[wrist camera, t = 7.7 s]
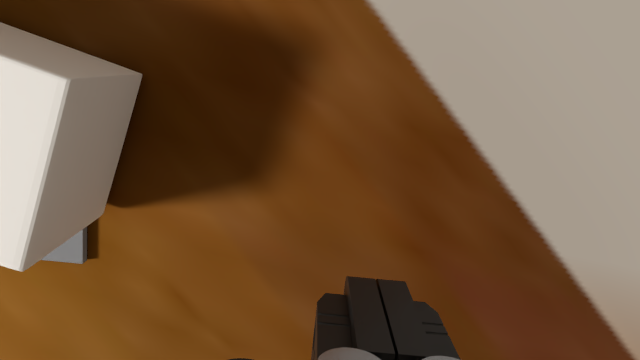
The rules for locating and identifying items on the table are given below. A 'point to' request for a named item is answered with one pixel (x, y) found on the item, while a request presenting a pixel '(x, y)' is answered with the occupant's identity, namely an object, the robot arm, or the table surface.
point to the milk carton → (56, 141)
